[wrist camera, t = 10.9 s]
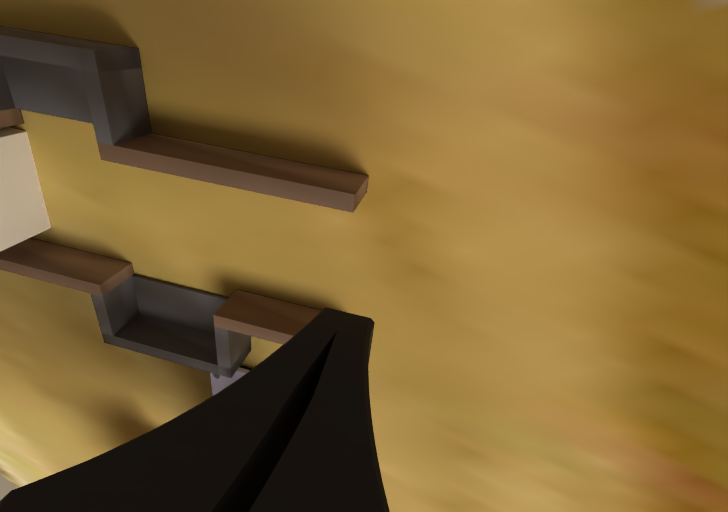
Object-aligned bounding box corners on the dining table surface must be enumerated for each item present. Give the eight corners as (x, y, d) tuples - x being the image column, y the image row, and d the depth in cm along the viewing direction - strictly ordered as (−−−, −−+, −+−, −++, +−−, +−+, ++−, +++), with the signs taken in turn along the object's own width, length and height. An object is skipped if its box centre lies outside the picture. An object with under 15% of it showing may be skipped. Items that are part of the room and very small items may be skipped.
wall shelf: (343, 374, 25) (328, 414, 22) (-17, 277, 29) (-64, 301, 26) (380, 87, 16) (362, 97, 14) (-138, 3, 20) (-226, -1, 18)
